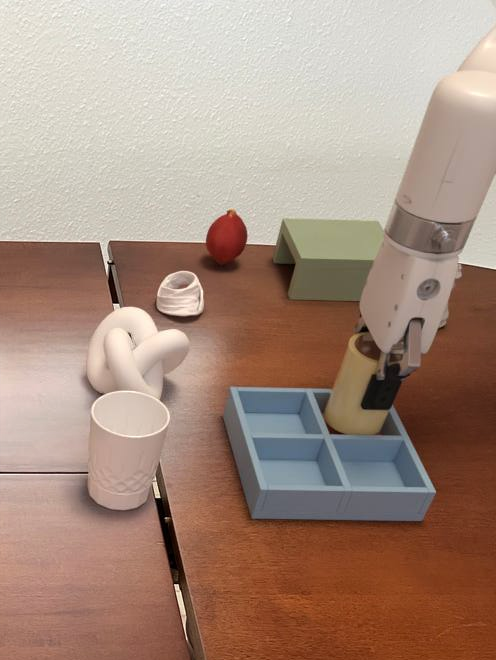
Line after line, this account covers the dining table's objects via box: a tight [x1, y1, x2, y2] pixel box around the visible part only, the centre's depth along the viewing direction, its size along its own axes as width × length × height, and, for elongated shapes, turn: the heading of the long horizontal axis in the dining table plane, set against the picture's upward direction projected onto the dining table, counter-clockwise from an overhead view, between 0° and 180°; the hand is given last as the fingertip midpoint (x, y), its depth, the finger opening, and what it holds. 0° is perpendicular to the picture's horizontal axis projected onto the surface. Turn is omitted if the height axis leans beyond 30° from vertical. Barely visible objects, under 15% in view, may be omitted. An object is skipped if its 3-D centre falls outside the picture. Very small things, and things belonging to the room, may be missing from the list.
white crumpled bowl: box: [156, 270, 205, 317], centre depth 120 cm, size 8×7×5 cm
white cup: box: [86, 391, 171, 511], centre depth 92 cm, size 8×8×10 cm
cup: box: [324, 332, 403, 435], centre depth 97 cm, size 7×7×9 cm
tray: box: [222, 386, 437, 522], centre depth 99 cm, size 18×18×4 cm
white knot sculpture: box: [85, 306, 190, 401], centre depth 105 cm, size 11×12×9 cm
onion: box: [205, 208, 248, 266], centre depth 128 cm, size 6×6×8 cm
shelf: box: [272, 217, 384, 302], centre depth 126 cm, size 14×12×6 cm
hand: (365, 387), depth 98 cm, fingers closed on cup, 6 cm apart
